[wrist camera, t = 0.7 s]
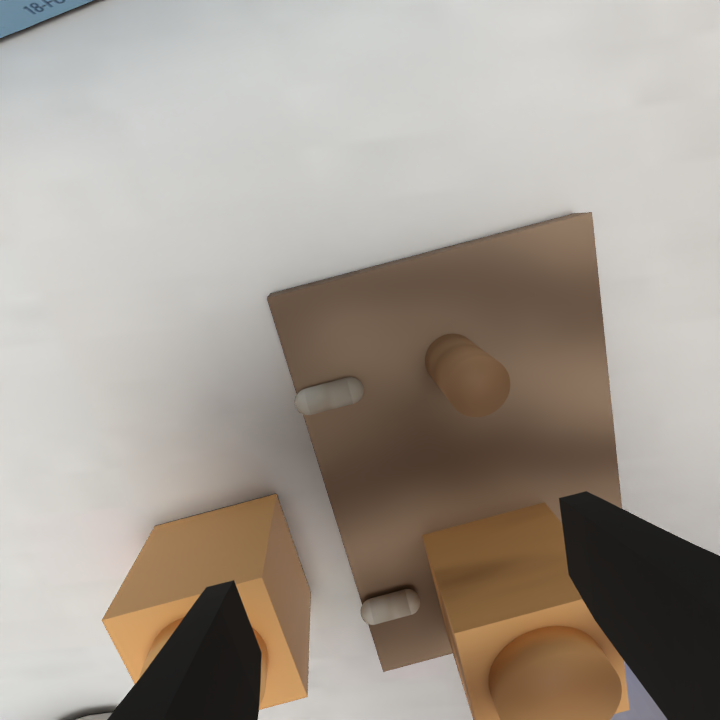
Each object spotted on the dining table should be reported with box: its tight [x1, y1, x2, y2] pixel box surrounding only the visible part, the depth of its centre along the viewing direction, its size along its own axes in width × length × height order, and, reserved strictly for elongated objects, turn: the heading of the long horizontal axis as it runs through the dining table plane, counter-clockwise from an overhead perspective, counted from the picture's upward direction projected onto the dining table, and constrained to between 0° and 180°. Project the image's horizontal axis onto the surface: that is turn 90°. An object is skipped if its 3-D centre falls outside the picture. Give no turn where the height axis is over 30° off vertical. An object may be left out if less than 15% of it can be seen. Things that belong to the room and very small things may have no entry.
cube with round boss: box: [102, 494, 311, 710], centre depth 18 cm, size 5×5×6 cm
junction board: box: [267, 212, 630, 720], centre depth 17 cm, size 18×12×7 cm
